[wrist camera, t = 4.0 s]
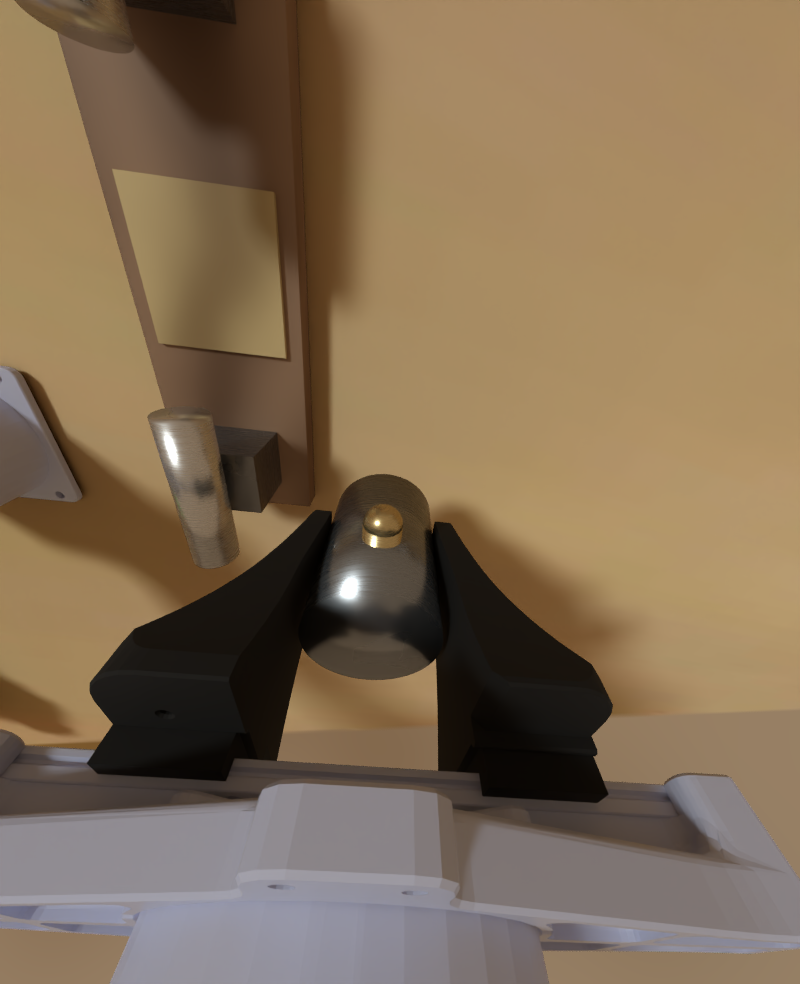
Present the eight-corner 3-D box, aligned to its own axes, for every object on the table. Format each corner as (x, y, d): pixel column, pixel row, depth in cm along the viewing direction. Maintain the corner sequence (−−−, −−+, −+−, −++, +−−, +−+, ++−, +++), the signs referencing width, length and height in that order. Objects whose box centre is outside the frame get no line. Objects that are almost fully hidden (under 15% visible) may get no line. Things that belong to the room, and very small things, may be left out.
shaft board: (200, 483, 19) (187, 495, 18) (6, -269, 8) (-65, -371, 7) (314, 495, 20) (308, 508, 19) (288, -213, 8) (268, -301, 7)
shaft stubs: (217, 503, 19) (161, 564, 15) (6, -392, 7) (-697, -1598, 2) (285, 510, 19) (249, 572, 15) (199, -350, 7) (-141, -1410, 3)
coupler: (337, 559, 15) (303, 691, 10) (338, 446, 12) (290, 554, 7) (419, 567, 15) (425, 700, 10) (441, 457, 12) (465, 570, 7)
